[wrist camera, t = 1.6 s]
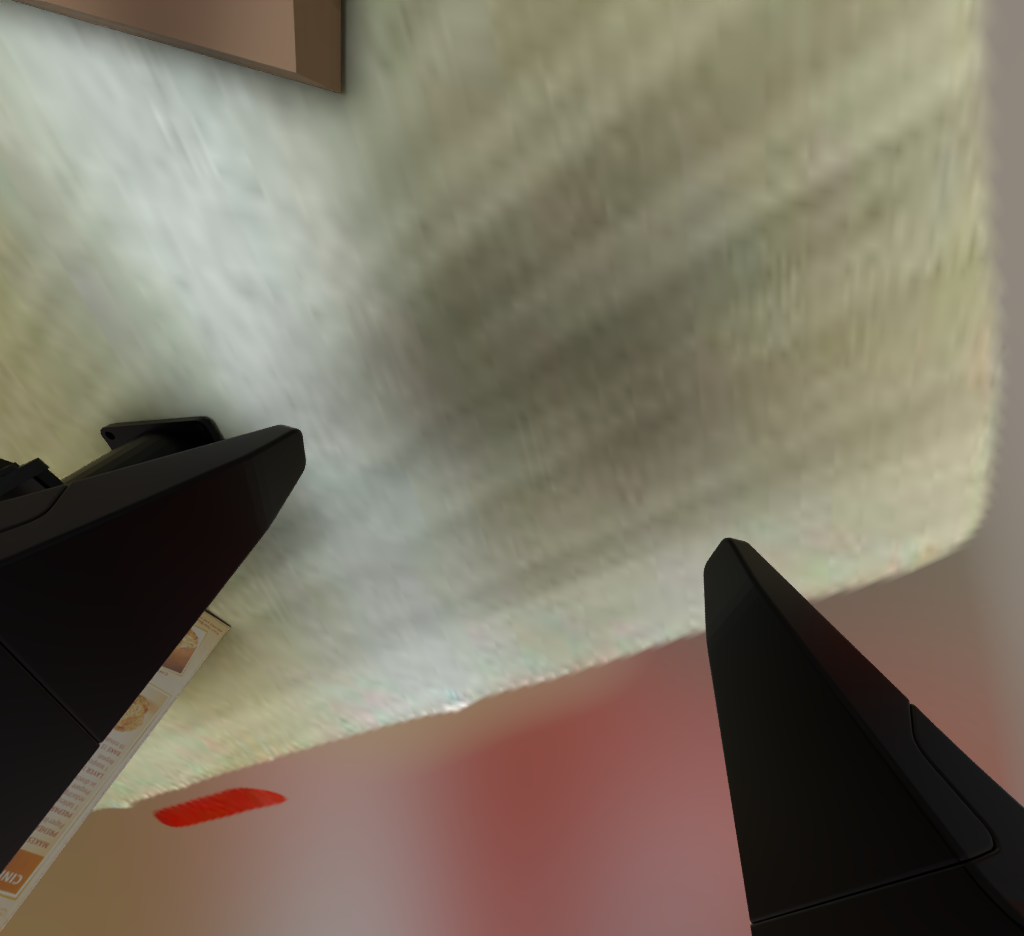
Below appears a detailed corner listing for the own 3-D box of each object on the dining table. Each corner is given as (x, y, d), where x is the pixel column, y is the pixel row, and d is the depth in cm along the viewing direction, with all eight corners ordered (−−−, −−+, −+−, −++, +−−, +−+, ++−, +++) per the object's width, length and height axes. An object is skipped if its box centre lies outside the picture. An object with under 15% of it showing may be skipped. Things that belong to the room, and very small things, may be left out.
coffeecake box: (152, 571, 30) (-313, 1010, 14) (235, 627, 33) (-71, 1044, 17) (63, 633, 36) (-344, 998, 20) (141, 676, 39) (-157, 1025, 23)
